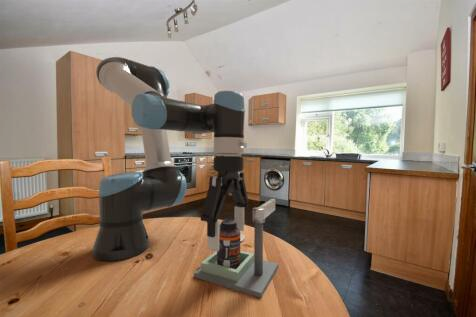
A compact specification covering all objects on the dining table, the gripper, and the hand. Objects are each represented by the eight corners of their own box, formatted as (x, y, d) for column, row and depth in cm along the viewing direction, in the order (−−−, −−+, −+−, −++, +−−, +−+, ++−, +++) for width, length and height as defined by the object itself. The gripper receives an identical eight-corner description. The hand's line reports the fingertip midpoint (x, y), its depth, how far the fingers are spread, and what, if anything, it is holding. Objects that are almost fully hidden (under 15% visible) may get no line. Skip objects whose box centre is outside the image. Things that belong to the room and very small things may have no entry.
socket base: (193, 277, 52) (193, 222, 51) (221, 254, 63) (221, 209, 63) (261, 297, 44) (261, 234, 44) (278, 267, 56) (278, 217, 56)
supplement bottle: (231, 274, 51) (231, 226, 51) (212, 267, 54) (211, 222, 54) (244, 263, 56) (244, 220, 56) (226, 257, 59) (226, 216, 59)
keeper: (262, 224, 49) (262, 210, 49) (250, 222, 50) (250, 209, 50) (278, 210, 61) (278, 199, 61) (268, 208, 62) (268, 198, 62)
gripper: (215, 156, 41) (213, 265, 42) (259, 154, 64) (258, 225, 64) (184, 155, 44) (183, 256, 45) (237, 154, 67) (236, 221, 68)
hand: (227, 238), depth 55 cm, fingers open, 13 cm apart
